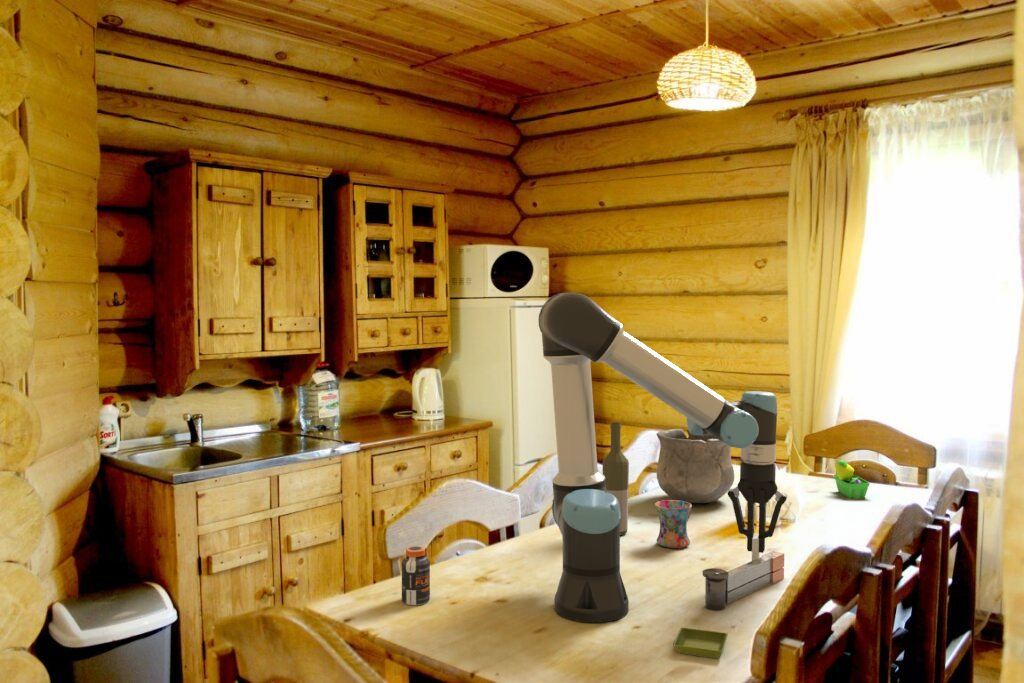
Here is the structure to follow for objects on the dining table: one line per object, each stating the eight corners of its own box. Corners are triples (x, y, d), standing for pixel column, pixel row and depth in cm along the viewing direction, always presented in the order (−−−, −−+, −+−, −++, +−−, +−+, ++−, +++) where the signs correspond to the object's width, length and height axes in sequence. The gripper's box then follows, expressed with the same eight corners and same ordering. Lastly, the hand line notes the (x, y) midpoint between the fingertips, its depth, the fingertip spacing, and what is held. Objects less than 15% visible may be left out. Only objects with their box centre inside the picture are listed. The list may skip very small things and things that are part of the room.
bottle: (621, 538, 221) (621, 425, 219) (597, 534, 225) (597, 423, 223) (633, 532, 227) (633, 422, 225) (610, 528, 231) (610, 420, 229)
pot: (677, 489, 278) (677, 424, 276) (746, 498, 264) (746, 431, 263) (642, 504, 257) (642, 435, 256) (715, 515, 244) (715, 442, 242)
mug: (677, 552, 209) (677, 510, 208) (647, 545, 215) (647, 504, 215) (704, 542, 217) (705, 502, 216) (675, 535, 224) (675, 496, 223)
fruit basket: (870, 499, 262) (871, 463, 261) (842, 499, 262) (842, 463, 262) (856, 490, 273) (856, 456, 273) (829, 491, 273) (829, 456, 273)
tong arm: (729, 592, 173) (729, 577, 173) (717, 588, 175) (717, 574, 175) (784, 566, 189) (784, 553, 189) (772, 563, 191) (772, 550, 191)
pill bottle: (418, 608, 173) (417, 554, 172) (395, 602, 176) (395, 549, 175) (435, 599, 178) (435, 546, 177) (413, 594, 181) (413, 542, 180)
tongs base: (719, 613, 168) (719, 578, 168) (697, 607, 172) (697, 572, 172) (788, 579, 188) (789, 548, 188) (767, 574, 192) (767, 543, 192)
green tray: (672, 656, 149) (672, 644, 149) (680, 637, 158) (680, 626, 158) (722, 663, 146) (722, 651, 146) (728, 644, 155) (728, 632, 154)
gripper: (725, 461, 185) (723, 567, 186) (787, 467, 180) (784, 575, 181) (730, 456, 192) (728, 557, 193) (789, 460, 187) (787, 564, 188)
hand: (755, 565), depth 187 cm, fingers closed
